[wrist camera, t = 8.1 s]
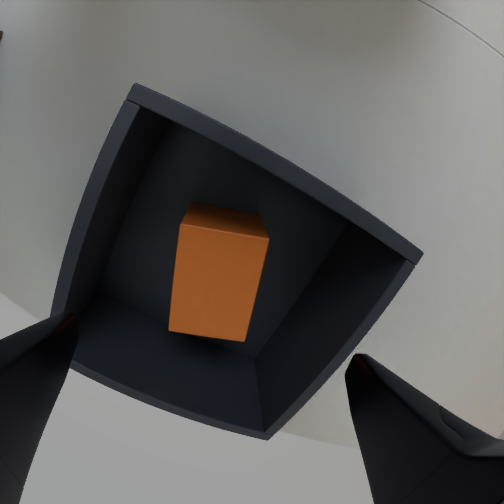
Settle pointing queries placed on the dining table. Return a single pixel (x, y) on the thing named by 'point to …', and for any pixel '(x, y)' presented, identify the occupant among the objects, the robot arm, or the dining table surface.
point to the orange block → (217, 271)
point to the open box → (270, 286)
